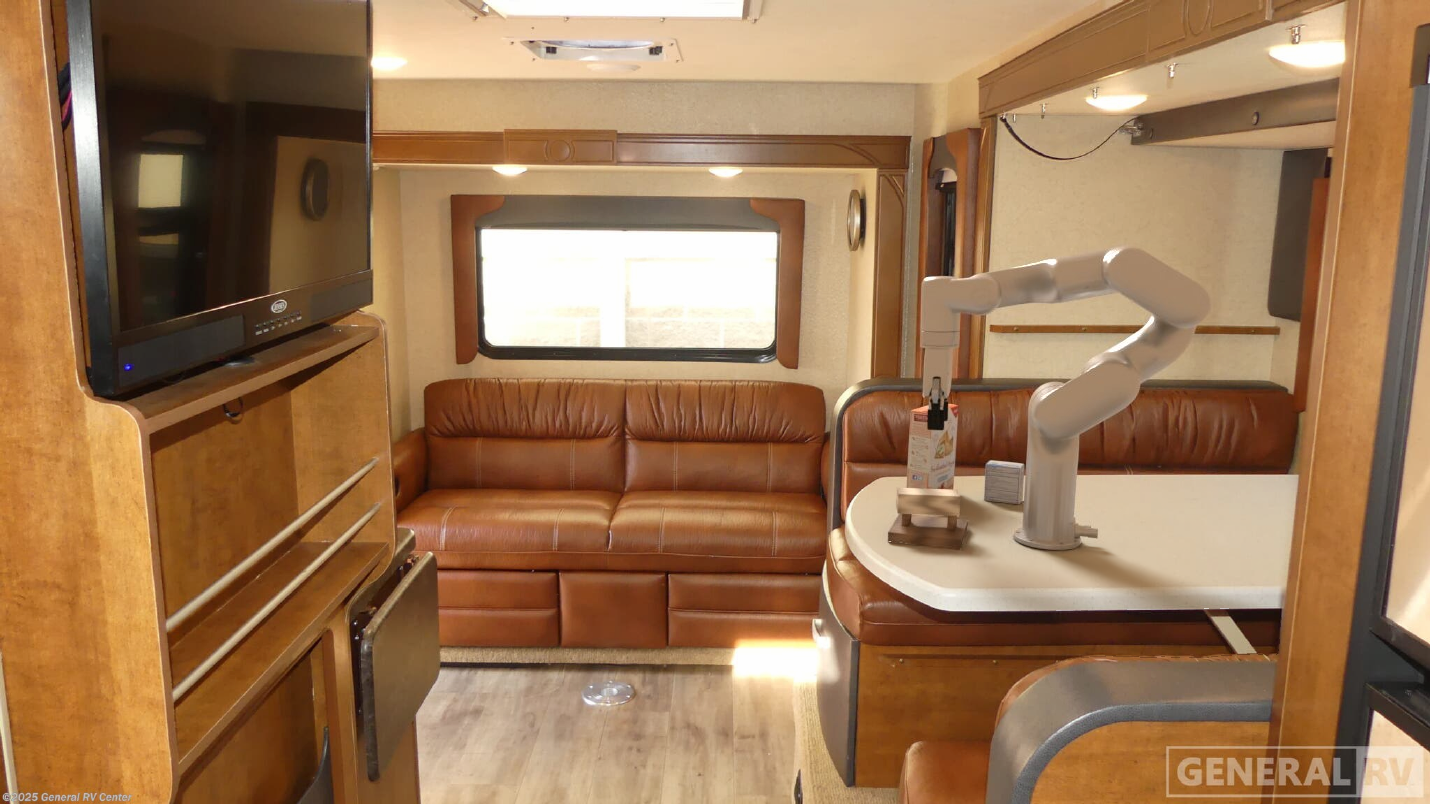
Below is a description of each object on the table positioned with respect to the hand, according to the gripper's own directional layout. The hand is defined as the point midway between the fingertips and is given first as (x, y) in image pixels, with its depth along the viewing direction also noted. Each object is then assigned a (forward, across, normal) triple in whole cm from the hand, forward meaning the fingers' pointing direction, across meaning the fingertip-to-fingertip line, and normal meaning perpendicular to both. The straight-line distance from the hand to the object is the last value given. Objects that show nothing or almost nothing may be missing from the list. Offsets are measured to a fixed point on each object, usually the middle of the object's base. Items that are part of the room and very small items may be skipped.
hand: (937, 425), depth 201 cm
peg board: (+22, +2, -1) cm, 22 cm away
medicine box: (+23, -30, +13) cm, 39 cm away
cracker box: (+22, -28, -3) cm, 36 cm away
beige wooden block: (+17, +3, -1) cm, 17 cm away
